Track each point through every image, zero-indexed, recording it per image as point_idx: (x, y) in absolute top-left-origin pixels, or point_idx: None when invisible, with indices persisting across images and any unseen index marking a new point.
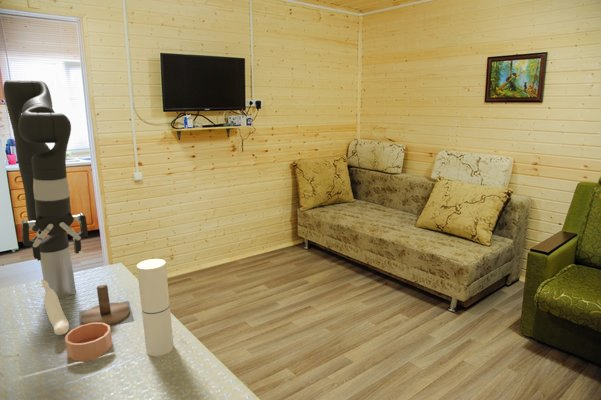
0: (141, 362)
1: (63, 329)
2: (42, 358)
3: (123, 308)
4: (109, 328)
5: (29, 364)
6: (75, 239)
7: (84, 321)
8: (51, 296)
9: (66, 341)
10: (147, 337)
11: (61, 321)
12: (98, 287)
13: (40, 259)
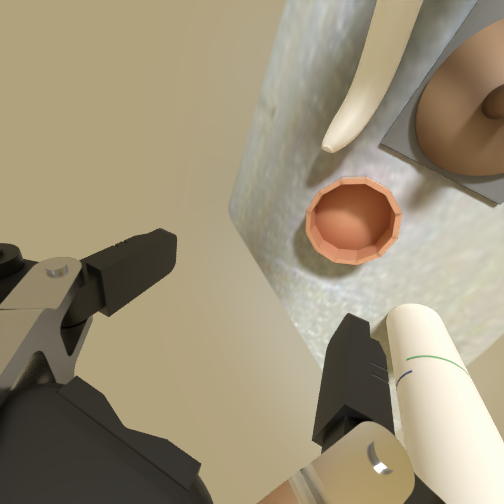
0: (363, 319)
1: (339, 149)
2: (290, 166)
3: None
4: (386, 248)
5: (270, 166)
6: (323, 448)
7: (425, 102)
8: None
9: (307, 214)
10: (389, 341)
11: (355, 113)
12: None
13: (168, 272)
